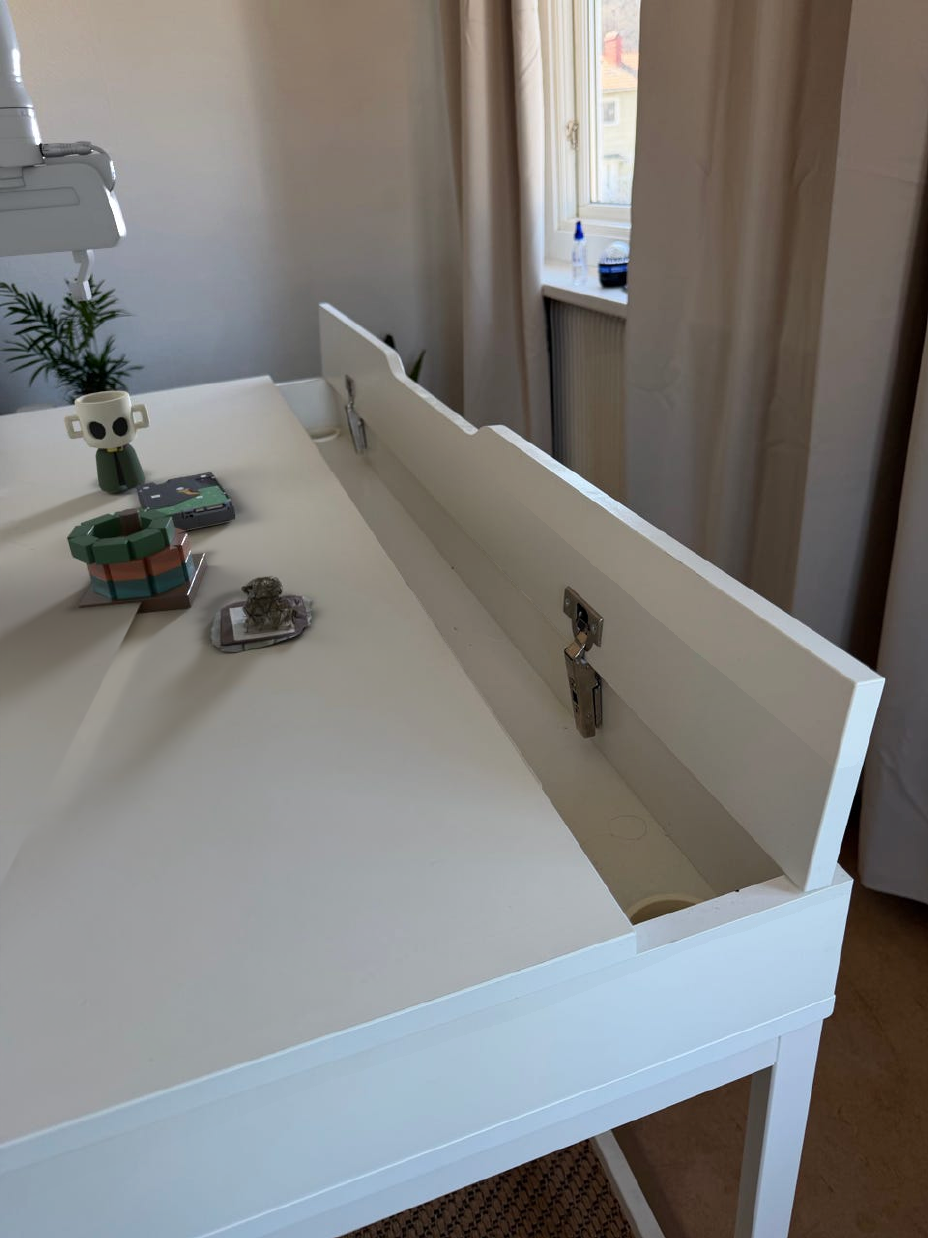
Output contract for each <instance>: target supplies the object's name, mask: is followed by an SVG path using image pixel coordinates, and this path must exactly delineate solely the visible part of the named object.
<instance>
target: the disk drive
mask: <svg viewBox="0 0 928 1238" xmlns="http://www.w3.org/2000/svg"><path fill="white" fill-rule="evenodd" d="M135 490H136V492H137V493H136V494H137V497H138V501H139V504H140V507H141V509H146V510H147V511H148V510H151V509H154V510H157V511H160V512H164V513H167V514H170V516H171V517H172V520H173V525H174V527H175V528H178V529H181V530H185V532H186V531H189V530H195V529H201V528H205V527H210V526H215V525H220V524H225V523H229V522H231V521H235V520H236V519H237V517H236V511H235V505H234V504H233V502H232V499H231V496H230V494H228V493H227V492H226V490H225V488H224V487H223V485H222V484H221V483H220V482H219V480H218V479H217V477H216V475H215V474H214V473H213V472H212V471H206V472H202V473H197V474H191V475H186V476H179V477H174V478H169V479H168V480H166V481H165V482H161V483H155V482H153V481H152V482H147V483H144V484H141V485H136V488H135Z"/></svg>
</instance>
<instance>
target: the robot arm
mask: <svg viewBox="0 0 928 1238" xmlns="http://www.w3.org/2000/svg"><path fill="white" fill-rule="evenodd" d="M13 21H14V20H13V17H12V15H11V12H10V7H9V5H8V2H7V0H0V258H5V257H7V258H8V257H17V256H18V257H19V256H29V255H31V256H32V255H43V254H53V253H66V252H67V253H68V252H71V253H72V258H73V261H74V263H75V264H80V266H79V271H78V274H77V278H76V280H72V281H70V282H68V283H67V285H68V288H69V290H68V291H69V292H71V294H70V297H71V300H72V302H74V303H75V302H86V301H90V300H92V292H91V287H90V283H89V280H90V278H91V274H92V271H93V268H94V265H95V262H96V258H95V255H94V250H103V249H114V248H118V247H120V246H121V245H122V244H123V243H124V242H125V239H126V237H127V235H128V233H127V228H126V224H125V220H124V216H123V214H122V210H121V206H120V205H119V204H120V203H119V201H118V199H117V196H116V193H115V191H114V189H115V187H116V186H115V185H116V175H115V170H114V166H113V165H114V164H113V161H112V159H111V157H110V155H109V154H108V152H106V151H105V150H104V149H103V148H102V147H99V146H97V145H93V144H92V142H91V141H87V140H80V141H75V142H52V143H43V139H42V134H41V130H40V126H39V122H38V118H37V114H36V110H35V106H34V103H33V100H32V98H31V97H30V94H29V93H28V91H27V89H26V86H25V84H24V79H23V76H22V75H23V74H22V53H21V48H20V44H19V40H18V37H17V32H16V29H15V26H14V25H15V24H14V22H13ZM94 151H95V152H98V153H94Z"/></svg>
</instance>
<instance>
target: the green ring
mask: <svg viewBox="0 0 928 1238" xmlns="http://www.w3.org/2000/svg"><path fill="white" fill-rule="evenodd" d="M138 510H139V514H140V518H141V522H142V526H143V530H142V531H139V532H137V533H134V534H131V535H129V536H126V537H115V536H118V535H124V534H123V530H122V526H121V522H120V518H119V512H121V511H122V510H120V511H115V512H114V513H113V514H110V513H105V514H102V515H99V516H97V517H94V518H92V519H88V520H86V521H83V522H80V525H75V526H74V528H73V529H72V530H71V531H70V533H69V534H68V535H67V537H66V539H67V543H68V547H69V550H70V554H71V557H72V558H73V559H75V560H78V561H80V562H82V563H85V564H86V563H88V564H93V563H95V562H96V565H102V564H112V563H122V562H130V561H131V559H132V558H134V559H137V560H139V559H141V558H144V557H146V556H149V555H151V554H154V553H156V552H159V551H161V550H163V549H166V548H165V546H170V544H171V542H172V540H173V538H174V536H175V534H176V533H175V529H174V525H173V520H172V517H171V516H170V514H167V513H164V512H160V511H157V510H154V509H151V510H148V511H147V510H146V509H143V508H140V509H138ZM112 537H115V538H112Z"/></svg>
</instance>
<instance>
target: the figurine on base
mask: <svg viewBox="0 0 928 1238" xmlns="http://www.w3.org/2000/svg"><path fill="white" fill-rule="evenodd" d="M240 589H241V591H242V592H243V593H244V594H245V595H246V597H247V599H243V600H239V601H235V602H232V603H230V604H228V605H226V606H223V607H222V608H221V609H220V610H219V611H218V612H217V613H216V614H215V616H214V620H213V622H212V626H211V628H210V632H211V635H210V639H211V640H212V641H211V645H213V646H215V647H216V648H217V650H219V651H221V652H228V653H236V652H237V653H238V652H243V651H247V650H251V649H259V648H264V647H267V646H268V647H269V646H271V645H275V644H276V643H277V644H278V643H279V642H282V641H285V640H288V639H291V638H293V637H296V636H298V635H300V634H301V633H303V629H304V628H306V627H309V626H310V625H311V624H312V623H311V622H310V621H311V620H312V619H313V616H312V613H313V610H312V608H311V603H312V602H313V599H311V598H309V597H307V596H304V595H297V594H283V592H284V585H283V583H282V581H281V579H280V578H279V577H277V576H276V575H268V576H256V577H254V578H252V579H251V580H250V581H248V582H247V583H246V584H244V585H242V586H241V587H240ZM282 594H283V595H282Z"/></svg>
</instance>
